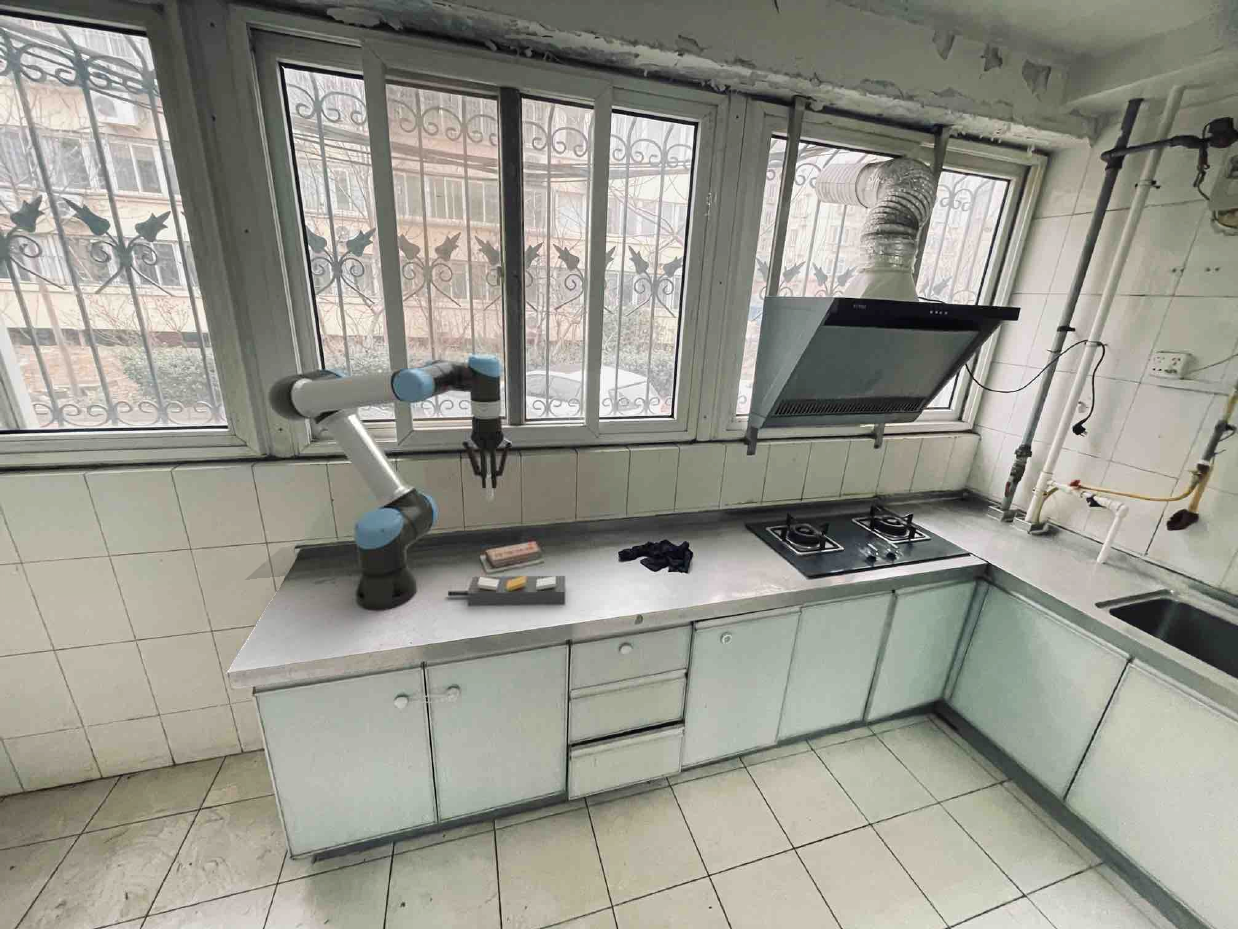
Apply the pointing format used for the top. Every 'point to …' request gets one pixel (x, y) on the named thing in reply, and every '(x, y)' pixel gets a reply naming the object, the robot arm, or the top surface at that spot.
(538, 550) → the packaged product
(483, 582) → the white box
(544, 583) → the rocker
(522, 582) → the yellow box
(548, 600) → the power strip
